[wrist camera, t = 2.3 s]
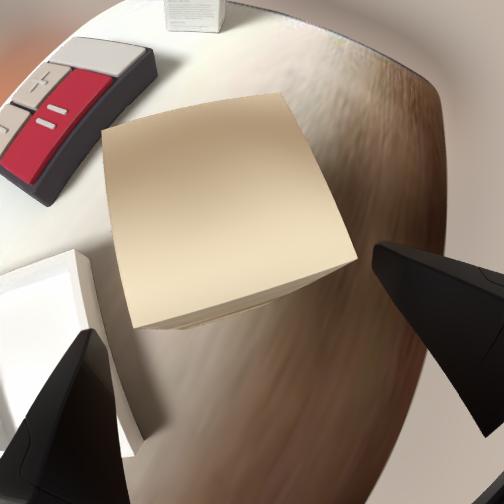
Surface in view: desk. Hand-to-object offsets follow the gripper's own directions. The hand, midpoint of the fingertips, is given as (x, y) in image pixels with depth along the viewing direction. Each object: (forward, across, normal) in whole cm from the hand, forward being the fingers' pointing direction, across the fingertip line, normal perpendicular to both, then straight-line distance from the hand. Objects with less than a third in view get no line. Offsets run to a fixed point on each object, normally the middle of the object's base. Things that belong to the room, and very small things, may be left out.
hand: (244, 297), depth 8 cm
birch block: (+8, 0, +5) cm, 10 cm away
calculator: (+21, +10, -7) cm, 24 cm away
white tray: (+6, +14, +7) cm, 17 cm away
